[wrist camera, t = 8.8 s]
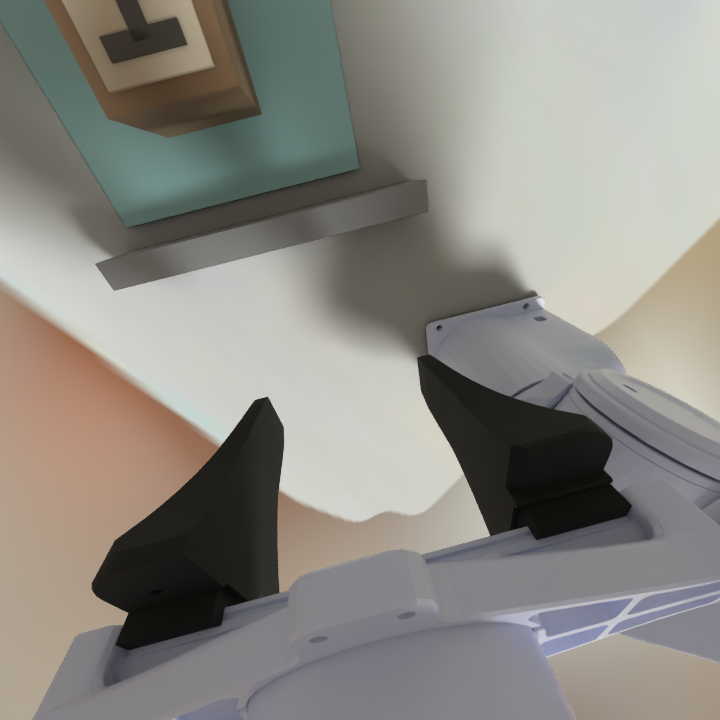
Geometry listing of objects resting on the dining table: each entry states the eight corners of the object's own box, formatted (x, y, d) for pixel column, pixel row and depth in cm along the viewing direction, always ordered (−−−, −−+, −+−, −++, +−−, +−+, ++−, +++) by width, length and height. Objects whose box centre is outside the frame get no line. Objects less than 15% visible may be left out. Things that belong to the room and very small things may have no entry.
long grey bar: (410, 180, 17) (426, 180, 15) (413, 207, 18) (428, 211, 16) (127, 252, 17) (94, 263, 15) (142, 276, 18) (114, 290, 16)
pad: (288, -223, 10) (287, -238, 10) (358, 168, 17) (359, 168, 16) (-81, -124, 10) (-95, -135, 10) (130, 226, 17) (126, 227, 16)
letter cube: (215, -39, 12) (152, -174, 7) (262, 114, 15) (236, 82, 10) (101, -9, 12) (-31, -126, 7) (168, 137, 15) (101, 117, 10)
